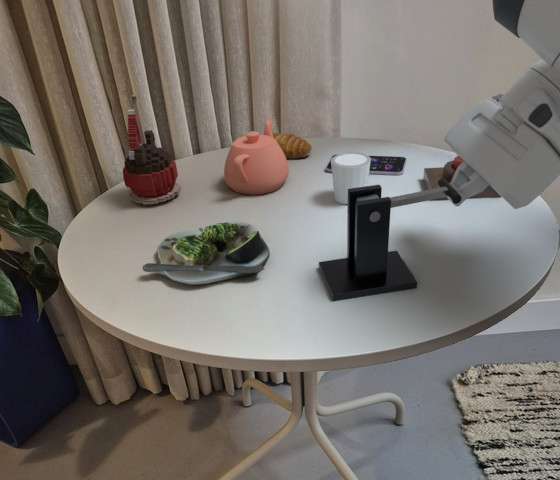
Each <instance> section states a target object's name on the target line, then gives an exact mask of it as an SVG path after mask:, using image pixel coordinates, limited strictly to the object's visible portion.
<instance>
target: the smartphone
mask: <svg viewBox="0 0 560 480" xmlns="http://www.w3.org/2000/svg"><path fill="white" fill-rule="evenodd" d="M339 154H340V153H339ZM339 154H338V153H337V154H333V155H331V156H330V158H329V160H328V162H327V164H326V166H325V171H326V172H328V173H332V168H331V159H332V158H333V157H334V156H336V155H339ZM367 155H368V154H367ZM368 156H369V157H370V158H371V162H370V170H369V175H370V174H371V175H388V176H389V175H391V176H399V175H402V174H404V171H405V167H406V164H407V162H408V161H407V157H406V156H395V155H394V156H393V155H392V156H391V155H368Z"/></svg>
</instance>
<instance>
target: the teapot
mask: <svg viewBox="0 0 560 480" xmlns="http://www.w3.org/2000/svg"><path fill="white" fill-rule="evenodd" d="M273 122H274V121H273V118H272V117H271V118H268V119H267V120H266V121H265V125H264V131H263V134H260V132H259V131H255V130H252V131H248V132H246V133H245V135H243V136H240V137H238V138H236V139H235V140H234V141H233V142H232V144H231V145H230V148H229V151H228V153H227V155H226V159H225V162H224V168H223V177H224V181H225V183H226V185H227V186H228V187H229V188H230V189H231V190H232V191H234V192H236V193H238V194H242V195H264V194H265V195H266V194H270V193H273V192H275V191H277V190H279V189H280V188H281V187H282V186H283V185H284V184H285V182H286V181H287V179H288V177H289V173H290V169H289V164H288V160H287V158H286V157H285V155H284V153H283V151H282V149H281V148H280V146H279V145H278V143H277V142H276V140H275V139H274V138H273Z"/></svg>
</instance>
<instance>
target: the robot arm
mask: <svg viewBox="0 0 560 480" xmlns="http://www.w3.org/2000/svg"><path fill="white" fill-rule="evenodd" d="M492 11H493V12H492V13H493V19H494V21H495V22H497V23H498V24H499V25H501V26H502V27H503V28H505V29H506V30H507V31H508V32H510V33H511V34H512V35H514V36H515V37H516V38H518V39H521V40H522V41H523V42H524V43H525V44H526V45H527V46H528V47H529V48H530V49H531V50H532V51H533V52H534V53H535V54H536V55H538V56H539V57H540V58H541V59H540V60H538V61H536V62H535V63H533V64H532V65H531V66H530V67H528V69H527V70H526V71H525V72H524V73H523V74H522V75H521V76H520V77H519V78H518V79H517V80H516V81H515V82H514V83H513V85H512V86H511V87H509V88H508V90H507V91H506V92H505V93H504V94H503V93H498V94H496V95H494V96H493V95H492V96H489V97H487V98H486V99H483V100H481V101H479V102H478V103H476V104H475V105H474V106H473V107H471V108H470V109H469V110H468V111H467V112H466V113H464V114H463V115H462V116H461V117H460V118H459V119H458V120H457V121H456V122H455V123H454V124H453V125H452V126H451V127H450V128H449V129H448V130H447V132H446V133H445V135H444V138H443V142H444V143H445V144H446V146H448V147H449V148H450V150H452V151H453V152H454V153H455V154H456V156H459V157H460V158H461V159H462V160H463V162H462V163H461V164H460V165H459V166H458V167H457V170H456V172H455V174H454V176H453V178H452V180H451V182H450V183H449V184H450V185H451V186H452V187H453V188H454V189H455V190H456V192H457V193H458V194H459V195H460V196H461V197H462V199H461V201H460V203H458V204H454V203H453V202H452V201H451V200H450V199H449V198H448V197H447V198H448V199H449V200H448V201H450V202H451V203H452V204H453V205H454V206H455V207H460V206H461V205H462V204H463V203H464V202H466V200H468V199H467V198H469V197H472V196H474V195H476V194H478V193H480V192H482V191H483V190H484V189H485V188H486V187H487V186H488V185H490V186H491V187H492V188H493V189H494V190H495V191H496V192H497V193H498V194H499V195H500V196H501V198H502V199H504V201H505V202H507V204H509V206H511V207H512V208H513V209H514V210H518V209H521V208H524V207H527V206H528V205H530V204H531V203H532V202H534V201H535V200H536V199H537V198H538V197H539V196H540V195H542V193H543V192H545V190H547V189H548V188H549V187H550V186H551V185H552V184H553V183H554V182H555V181H556V180H557V179H558V177H560V0H492ZM468 179H470V181H468ZM467 181H468V182H467ZM466 182H467V183H466Z"/></svg>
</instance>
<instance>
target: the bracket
mask: <svg viewBox="0 0 560 480" xmlns="http://www.w3.org/2000/svg"><path fill="white" fill-rule="evenodd" d="M375 193H376V194H377V195H378V197H379V198H377V199H370V200H363V201H356V197H360V196H365V195H370V194H375ZM391 209H392V208H391V199H390V196H383V197H382V186H381V185H380V184H374V185H373V184H372V185H368V186H365V187H358V188H351V189H348V205H347V215H346V216H347V224H346V225H347V226H346V227H347V229H346V230H347V231H346V232H347V234H346V236H347V237H346V257H344V258H336V259H330V260H323V261H318V270H319V272H320V274H321V277H322V280H323V282H324V285H325V286H326V289H327V291H328V293H329V296H330V298H331V300H332V302H338V301H344V300H350V299H357V298H364V297H370V296H376V295H377V296H378V295H383V294H391V293H396V292H397V293H398V292H403V291H409V290H415V289H417V288H418V281H417V279H416V277H415V276H414V274H413V273H412V271H411V269H410V268H409V267H408V264H407V263H406V262H405V260H404V259H403V258H402V256H401V254H400V253H399V251H398V250H391V251H390V250H389V243H390V242H389V241H390V227H391V226H390V225H391Z"/></svg>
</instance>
